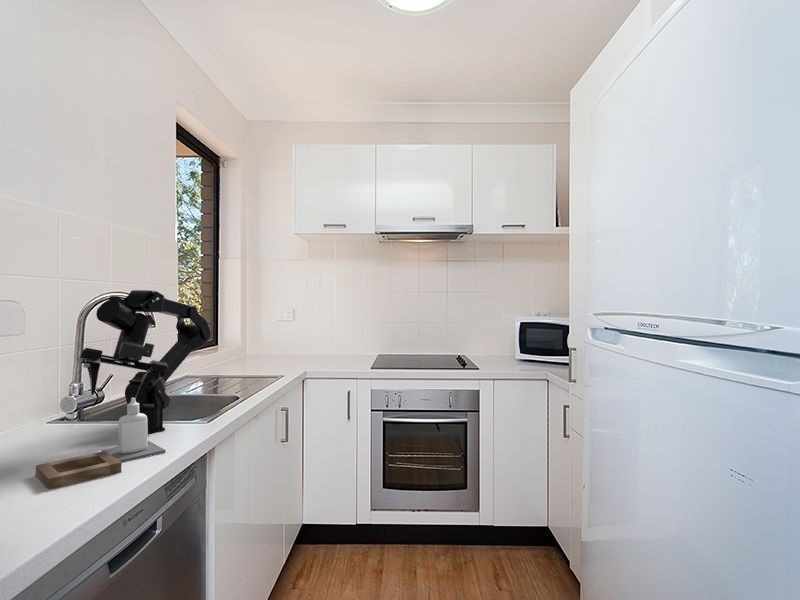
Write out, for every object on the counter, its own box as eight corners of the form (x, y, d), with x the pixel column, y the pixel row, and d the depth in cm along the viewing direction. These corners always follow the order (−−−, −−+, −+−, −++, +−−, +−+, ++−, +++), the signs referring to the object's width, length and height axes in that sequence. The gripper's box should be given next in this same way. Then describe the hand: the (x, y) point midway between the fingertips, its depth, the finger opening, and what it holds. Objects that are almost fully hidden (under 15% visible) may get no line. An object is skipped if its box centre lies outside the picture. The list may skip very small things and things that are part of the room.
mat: (148, 443, 111) (148, 440, 111) (165, 452, 105) (165, 449, 105) (101, 452, 104) (101, 450, 104) (116, 463, 97) (116, 460, 97)
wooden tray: (105, 460, 99) (105, 451, 99) (121, 472, 92) (121, 462, 92) (35, 475, 90) (35, 465, 90) (48, 489, 83) (48, 478, 83)
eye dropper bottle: (144, 452, 102) (144, 399, 102) (115, 454, 101) (115, 400, 101) (149, 446, 106) (149, 395, 106) (122, 448, 105) (122, 396, 105)
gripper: (94, 318, 104) (71, 386, 98) (180, 337, 114) (164, 400, 108) (88, 330, 112) (67, 393, 106) (169, 346, 122) (153, 405, 116)
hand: (114, 398), depth 109 cm, fingers open, 9 cm apart
